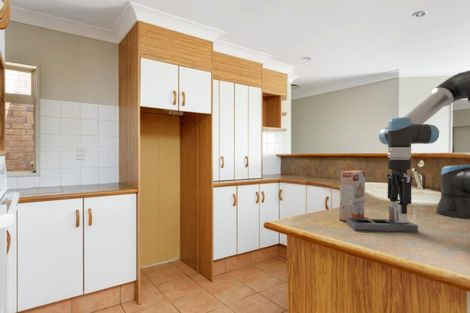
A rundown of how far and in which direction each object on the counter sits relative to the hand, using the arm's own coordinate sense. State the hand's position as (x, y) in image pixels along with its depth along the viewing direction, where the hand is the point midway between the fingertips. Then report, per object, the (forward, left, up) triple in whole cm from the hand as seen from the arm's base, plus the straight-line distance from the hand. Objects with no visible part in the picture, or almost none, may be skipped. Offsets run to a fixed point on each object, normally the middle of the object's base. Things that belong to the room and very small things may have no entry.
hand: (398, 220), depth 102 cm
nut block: (0, 0, -3) cm, 3 cm away
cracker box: (+12, -14, -3) cm, 19 cm away
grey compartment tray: (+7, 0, -3) cm, 7 cm away
